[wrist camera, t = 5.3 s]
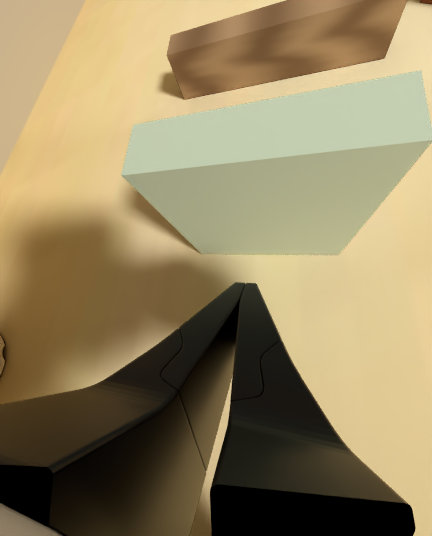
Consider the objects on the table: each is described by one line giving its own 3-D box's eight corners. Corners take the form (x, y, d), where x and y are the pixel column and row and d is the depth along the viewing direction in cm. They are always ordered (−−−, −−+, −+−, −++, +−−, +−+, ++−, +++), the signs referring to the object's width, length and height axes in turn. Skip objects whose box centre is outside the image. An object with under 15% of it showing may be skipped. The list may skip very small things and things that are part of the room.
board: (382, 36, 19) (408, -37, 15) (384, 58, 18) (412, -13, 14) (187, 81, 24) (170, 35, 20) (184, 99, 23) (166, 55, 19)
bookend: (337, 256, 15) (433, 139, 6) (202, 255, 18) (121, 175, 9) (332, 118, 18) (389, -106, 9) (216, 136, 21) (166, -19, 12)
